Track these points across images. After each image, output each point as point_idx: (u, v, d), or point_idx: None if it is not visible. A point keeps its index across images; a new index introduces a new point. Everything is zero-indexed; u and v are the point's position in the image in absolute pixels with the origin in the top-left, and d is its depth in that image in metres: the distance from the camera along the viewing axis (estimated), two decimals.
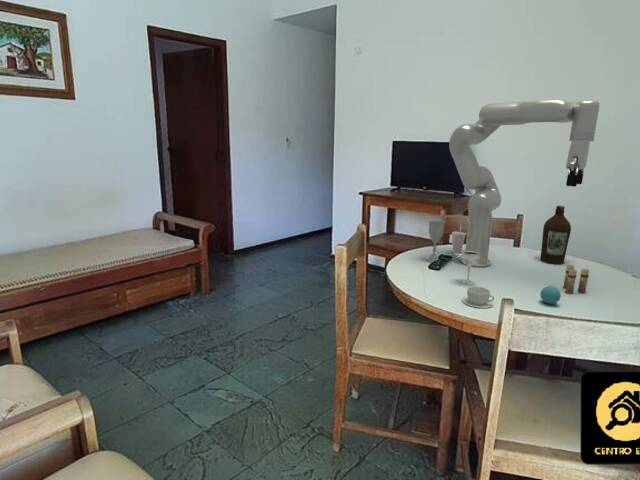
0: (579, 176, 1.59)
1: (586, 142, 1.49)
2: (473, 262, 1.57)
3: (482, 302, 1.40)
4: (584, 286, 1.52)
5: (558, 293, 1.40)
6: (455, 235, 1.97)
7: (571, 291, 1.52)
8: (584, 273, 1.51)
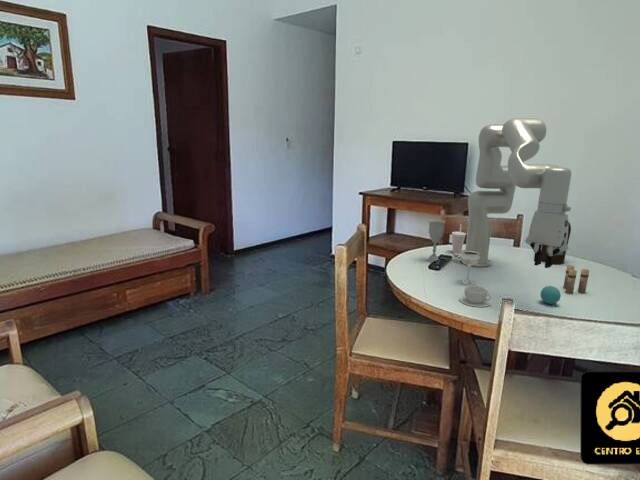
0: None
1: (537, 213, 1.31)
2: (473, 262, 1.57)
3: (479, 301, 1.41)
4: (584, 286, 1.52)
5: (558, 293, 1.40)
6: (455, 235, 1.97)
7: (571, 291, 1.52)
8: (584, 273, 1.51)
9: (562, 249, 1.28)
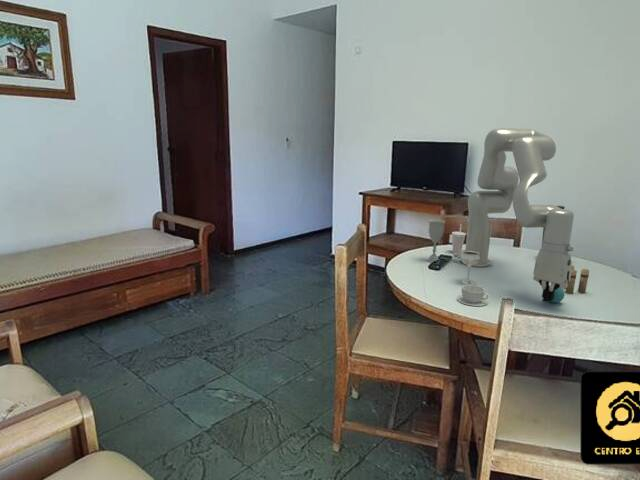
0: None
1: (541, 251, 1.39)
2: (473, 262, 1.57)
3: (476, 300, 1.42)
4: (584, 286, 1.52)
5: (563, 292, 1.42)
6: (455, 235, 1.97)
7: (571, 291, 1.52)
8: (584, 273, 1.51)
9: (562, 286, 1.36)
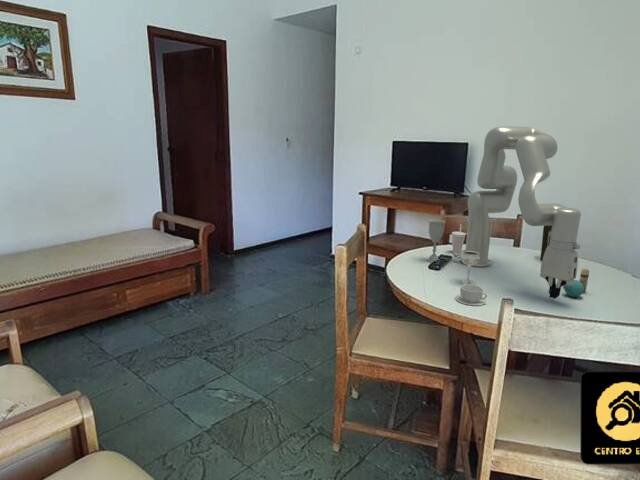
0: None
1: (549, 249, 1.42)
2: (473, 262, 1.57)
3: (475, 300, 1.42)
4: (584, 286, 1.52)
5: (578, 295, 1.47)
6: (455, 235, 1.97)
7: None
8: (584, 273, 1.51)
9: (568, 283, 1.40)
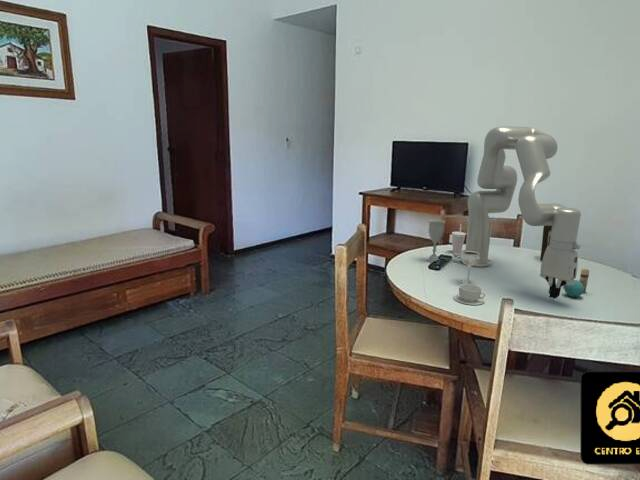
0: None
1: (549, 249, 1.42)
2: (473, 262, 1.57)
3: (473, 299, 1.42)
4: (584, 286, 1.52)
5: (578, 295, 1.47)
6: (455, 235, 1.97)
7: None
8: (584, 273, 1.51)
9: (568, 283, 1.40)
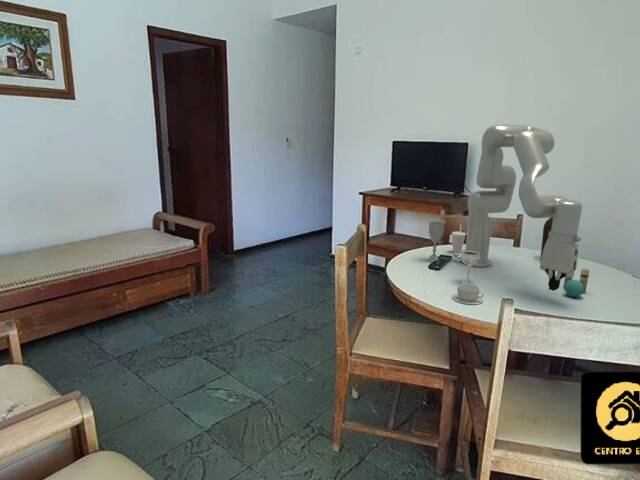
0: None
1: (549, 241, 1.41)
2: (473, 262, 1.57)
3: (472, 299, 1.43)
4: (584, 286, 1.52)
5: (578, 295, 1.47)
6: (455, 235, 1.97)
7: None
8: (584, 273, 1.51)
9: (568, 275, 1.40)
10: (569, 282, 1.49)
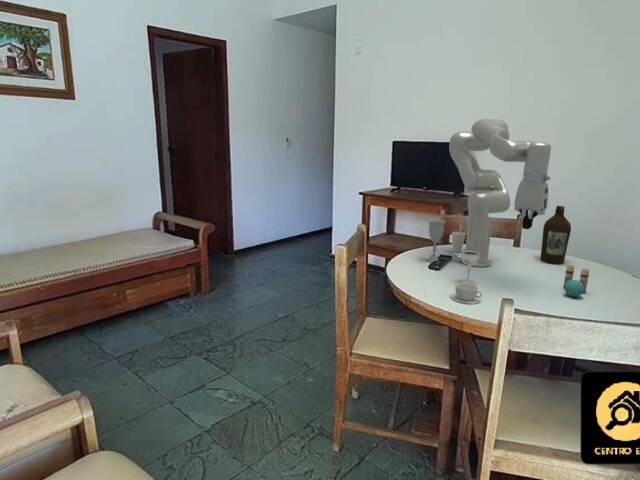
0: None
1: (522, 182, 1.52)
2: (473, 262, 1.57)
3: (470, 298, 1.43)
4: (584, 286, 1.52)
5: (578, 295, 1.47)
6: (455, 235, 1.97)
7: None
8: (584, 273, 1.51)
9: (539, 213, 1.51)
10: (569, 282, 1.49)
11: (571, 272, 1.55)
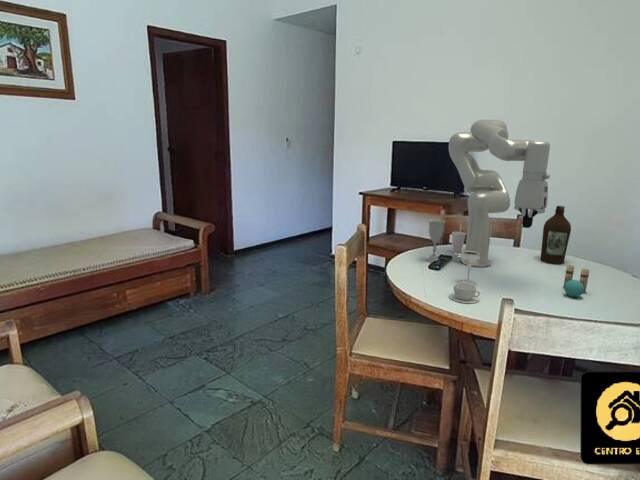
0: None
1: (521, 181, 1.53)
2: (473, 262, 1.57)
3: (468, 297, 1.44)
4: (584, 286, 1.52)
5: (578, 295, 1.47)
6: (455, 235, 1.97)
7: None
8: (584, 273, 1.51)
9: (539, 212, 1.51)
10: (569, 282, 1.49)
11: (571, 272, 1.55)
